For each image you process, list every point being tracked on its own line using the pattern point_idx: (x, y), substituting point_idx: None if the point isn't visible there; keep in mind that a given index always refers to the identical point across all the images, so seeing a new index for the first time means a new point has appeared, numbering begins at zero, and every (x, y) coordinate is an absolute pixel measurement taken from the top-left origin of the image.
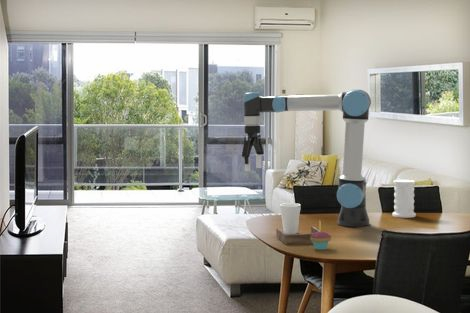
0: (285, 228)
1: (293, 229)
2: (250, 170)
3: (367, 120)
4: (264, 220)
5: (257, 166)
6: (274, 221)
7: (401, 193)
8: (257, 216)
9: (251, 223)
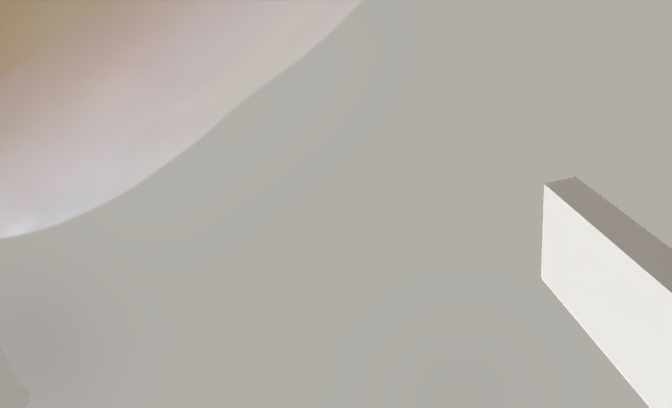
0: None
1: None
2: (548, 189)
3: None
4: (57, 113)
5: (4, 398)
6: (31, 27)
7: None
8: None
9: (207, 121)
